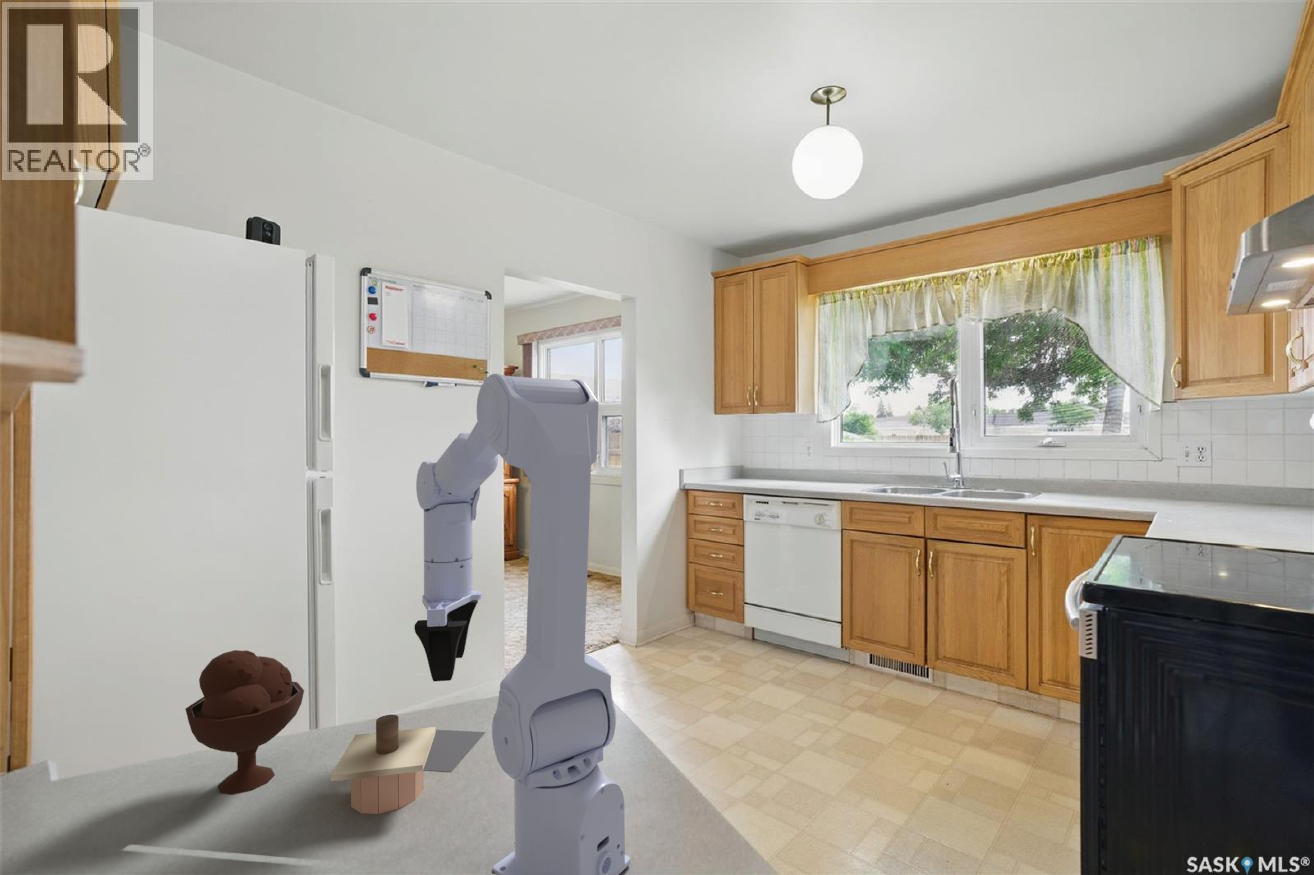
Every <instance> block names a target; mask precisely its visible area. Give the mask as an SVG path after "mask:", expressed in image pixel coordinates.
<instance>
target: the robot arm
mask: <svg viewBox="0 0 1314 875" xmlns="http://www.w3.org/2000/svg"><path fill="white" fill-rule="evenodd" d="M599 405H600V404H599V401H598V399H597V398H596V396H595V395H594V393H593V392H592V390H591V389H590V387H589V386H588V385H587V383H586V382H585V381H583V380H581V379H578V378H577V379H576V378H573V379H569V380H568V379H567V380H566V379H553V378H543V377H542V378H540V377H539V378H538V377H526V376H525V377H524V376H512V375H511V376H509V375H503V374H501V373H492V374H489V376H487V378H486V379H485V380H484V382H482V384H481V386H480V389H479V390H478V394H477V398H476V420H477V421H476V423H475V425H474V426H473V428H472V430H471V432H470V433H468V432H467V433H465V432H462V433H461V432H460V433H459V434H458V435H457V436H456V437H455V438H454V439H453V441H451V443H450V444H449V446H448V447H447V448H446V449H445V451H444V452H443V453H442V455H440V457H439V458H438V459H437V461H436V462H431V461H422V462H421V464H420V466H419V468H418V471H417V474H416V481H415V484H416V485H415V486H416V489H415V490H416V497H417V502H418V505H419V506H420V508H421V509H422V510H423V595H421V596H422V597H421V601H422V604H423V606H424V608H425V609H426V619H419V620H417V621H416V622H415V623H414V632H415V635H416V636H417V638H418V639H419V641H420V642H421V644H422V647H423V649H424V652H425V655H426V658H427V659H426V660H427V664H428V668H429V672H430V675H431V680H432V682H446V681H448V682H449V681H452V679H453V675H454V672H455V668H456V667H455V666H456V661H457V659H463V657H464V653H465V649H466V644H467V639H468V633H469V627H470V623H471V620H472V618H473V613H474V611H475V609H476V606H477V605H478V604H479V600H481V599H482V598H483V591H482V590H473V521H475V520H476V518H477V507H478V506H477V505H478V502H479V499H480V494H481V486H482V485H483V483H485V481H487V479H488V478H490V476H491V475H493V474H494V472H495V471H496V469H497V467H498V464H499V457H501V458H502V459H503V460H504V461H505V463H506V464H507V465H509V466H512V467H515V468H518V469H521V470H523V472H524V473H525V475H526V476H527V478H529V481H530V503H529V504H530V505H529V506H530V507H529V508H530V509H529V510H530V511H529V514H530V515H529V543H528V544H529V546H528V576H527V578H528V579H527V611H526V613H527V614H526V616H527V617H526V642H525V643H526V645H525V654H524V656H523V657H522V658H521V659H520V661H519V662H518V663H516V665H515V666H514V667H513V668H512V669H511V670H510V671H509V672H508V673H507V675H506V676H504V677H503V679H502V680H501V682H500V684H499V691H498V701H497V704H496V705H497V706H496V710H495V713H494V715H493V717H492V724H491V735H492V744H493V749H494V750H493V751H494V753H495V756H496V759H497V762H498V764H499V766H500V768H501V769H502V771H503V772H504V773H505V774H507V776H509V778H511V779H513V780H514V782H513V783H514V792H513V793H514V794H513V795H514V850H513V851H512V852H511V853H509V854H508V855H507V856H505V857H504V858H503V859H501V860H499V861H498V862H497V863H496V864H494V865H493V866H492V870H493V871H492V872H494V874H495V875H619V874H621V873H622V872H623V871H625V869H626V868H627V867H628V866H629V865H630V864H631V857H630V855H627V854H625V853H626V852H625V845H626V844H625V843H626V842H625V840H626V839H625V838H626V837H625V829H626V828H625V797H624V794H623V790H622V789H621V787H620V786H619V785H618V784H617V783H616V782H614V781H613V780H612V779H610V778H609V777H608V776H606V775H605V774H604V772H603V771H602V770H601V768H600V767H599V763H600V762H603V761H604V748H605V747H607V746H609V745H610V744H611V742H612V741H613V738H614V736H615V732H616V726H617V713H616V706H615V704H614V700H613V696H612V695H613V694H612V687H611V685H612V675H611V674H610V673H609V671H608V670H607V669H606V668H605V666H604V665H602V663H600V662H599V661H598V660H597V659H595V658H594V657H592V656H590V655H589V654H587V653H586V628H587V627H586V626H587V625H586V623H587V596H588V595H587V592H588V568H589V567H588V565H589V562H588V561H589V560H588V559H589V538H590V537H589V536H590V534H589V533H590V507H591V506H590V505H591V503H590V502H591V480H592V477H591V474H592V465H593V464H594V463H595V462H596V461H597V459H598V456H597V455H598V438H599V437H598V429H599ZM498 455H500V456H498Z"/></svg>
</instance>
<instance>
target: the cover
mask: <svg viewBox="0 0 1314 875" xmlns="http://www.w3.org/2000/svg"><path fill="white" fill-rule="evenodd" d="M436 730H437V727H436V726H430V727H422V728H421V727H420V728H411V729H400V730H399V716H398V715H397V714H387V715H382V716H380V717H378V718H377V719H376V720H375V732H371V733H370V732H368V733H360V734H355V735H354V736H353V738H352V739H351V741H350V743H349V745H348V746H347V748H346V749H345V751H344V752H343V754H342V756H341V758H340V759H339V761H338V763H337V764H336V766H335V768H334V770H332V772H331V774H330V782H336V781H337V782H338V781H346V780H347V781H348V780H351V779H357V778H365V777H374V776H383V775H392V774H401V773H410V772H419V771H423V769H424V766H425V763H426V760H427V757H428V754H429V751H430V748H431V745H432V742H433V739H434V736H435V733H436ZM423 772H424V771H423Z"/></svg>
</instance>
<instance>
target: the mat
mask: <svg viewBox="0 0 1314 875" xmlns="http://www.w3.org/2000/svg"><path fill="white" fill-rule="evenodd" d="M485 733H486V731H473V730H471V731H468V730H454V729H453V730H451V729H450V730H448V729H436V733H435V736H434V739H433V742H432V745H431V748H430V751H429V754H428V757H427V760H426V763H425V766H424V769H423V772H424V771H426V772H427V771H428V772H439V773H440V772H442V773H443V772H444V773H452V772H453V771H454V769H456V768H457V766H458V765H459V764H460V763H461V761H463V759H464V758H465V757H466V755H468V753H469V752H471V750H472V749H473V748H474V747H475V745H476V744H477V743H478V742H479V741H480V739H481V738H482V737H483V736H484V735H485Z"/></svg>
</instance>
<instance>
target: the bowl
mask: <svg viewBox="0 0 1314 875" xmlns="http://www.w3.org/2000/svg"><path fill="white" fill-rule="evenodd" d="M423 791H424V771H419V772H410V773H401V774H392V775H383V776H374V777H365V778H357V779H350V807H351V808H352V809H353V810H354V811H356V812H358V813H360V814H371V815H372V814H373V815H378V814H384V813H388V812H392V811H396V810H399V809H401V808H403V807H405V806H407V805H409V804H411V803H412V802H414V801H416V800H417V799H418V797H419V796H420V795H421V794H422V793H423Z"/></svg>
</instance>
